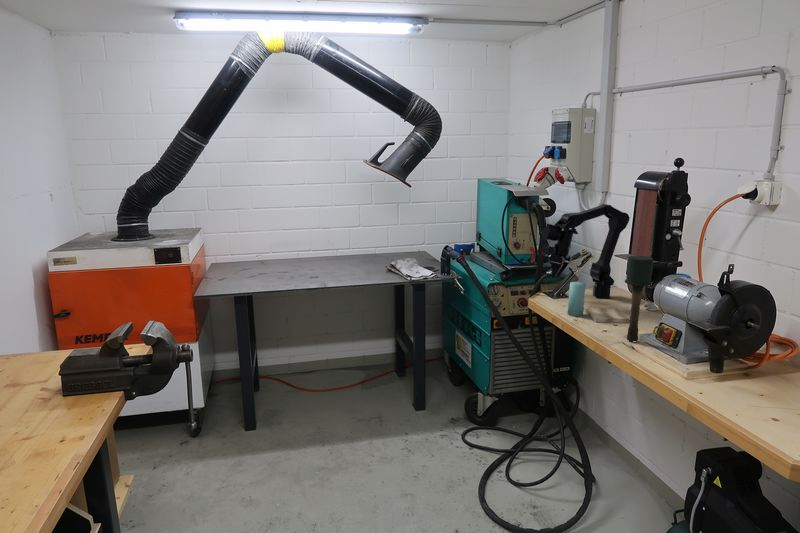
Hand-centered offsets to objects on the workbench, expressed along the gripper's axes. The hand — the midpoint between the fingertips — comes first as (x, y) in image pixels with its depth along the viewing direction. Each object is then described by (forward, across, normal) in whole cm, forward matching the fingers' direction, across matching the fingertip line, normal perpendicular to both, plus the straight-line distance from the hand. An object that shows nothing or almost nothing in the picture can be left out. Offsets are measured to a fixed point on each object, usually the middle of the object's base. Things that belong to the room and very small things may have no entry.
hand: (555, 277), depth 235 cm
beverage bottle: (+6, +9, +50) cm, 51 cm away
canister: (+11, +14, +14) cm, 23 cm away
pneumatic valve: (+5, -8, +40) cm, 41 cm away
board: (+9, +11, +26) cm, 29 cm away
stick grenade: (+11, +35, +39) cm, 53 cm away
